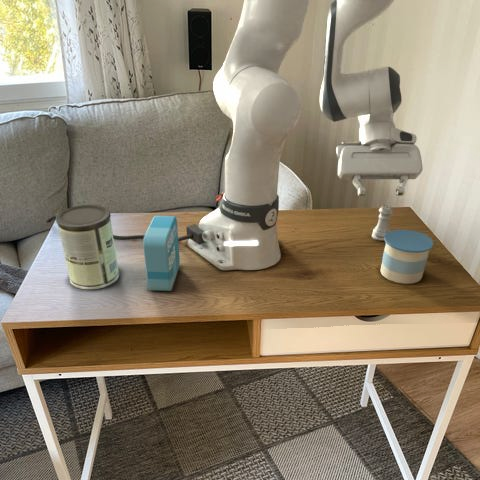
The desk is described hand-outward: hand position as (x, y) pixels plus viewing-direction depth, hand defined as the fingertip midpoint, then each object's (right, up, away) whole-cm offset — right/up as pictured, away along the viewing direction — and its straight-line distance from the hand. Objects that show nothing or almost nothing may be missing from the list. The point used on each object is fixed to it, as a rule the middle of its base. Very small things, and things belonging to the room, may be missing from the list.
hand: (381, 194), depth 121 cm
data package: (-50, -22, -16) cm, 57 cm away
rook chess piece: (0, -10, +1) cm, 10 cm away
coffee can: (-65, -22, -16) cm, 70 cm away
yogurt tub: (+1, -20, -13) cm, 24 cm away
